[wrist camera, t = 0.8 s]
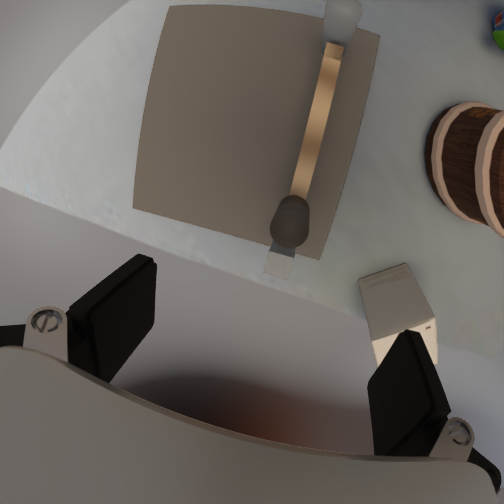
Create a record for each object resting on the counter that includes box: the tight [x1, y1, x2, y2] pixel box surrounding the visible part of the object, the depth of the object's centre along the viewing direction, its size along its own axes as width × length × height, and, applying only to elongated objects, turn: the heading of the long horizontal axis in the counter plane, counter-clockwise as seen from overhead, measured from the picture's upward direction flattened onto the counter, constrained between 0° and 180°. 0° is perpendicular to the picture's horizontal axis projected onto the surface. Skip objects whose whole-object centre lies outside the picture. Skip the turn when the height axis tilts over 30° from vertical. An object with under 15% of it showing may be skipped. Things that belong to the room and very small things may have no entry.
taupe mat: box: [133, 5, 380, 260], centre depth 31 cm, size 30×27×1 cm
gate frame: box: [263, 0, 362, 280], centre depth 25 cm, size 26×3×13 cm, turn 168°
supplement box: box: [358, 263, 438, 367], centre depth 31 cm, size 7×7×13 cm
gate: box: [270, 42, 344, 248], centre depth 24 cm, size 20×3×13 cm, turn 168°
